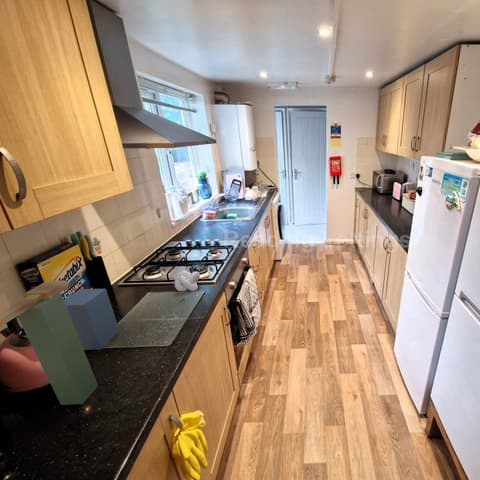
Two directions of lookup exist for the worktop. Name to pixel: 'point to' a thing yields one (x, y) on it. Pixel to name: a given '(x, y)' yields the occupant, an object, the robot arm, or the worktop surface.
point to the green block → (59, 350)
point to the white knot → (186, 281)
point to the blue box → (92, 317)
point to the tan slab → (33, 299)
